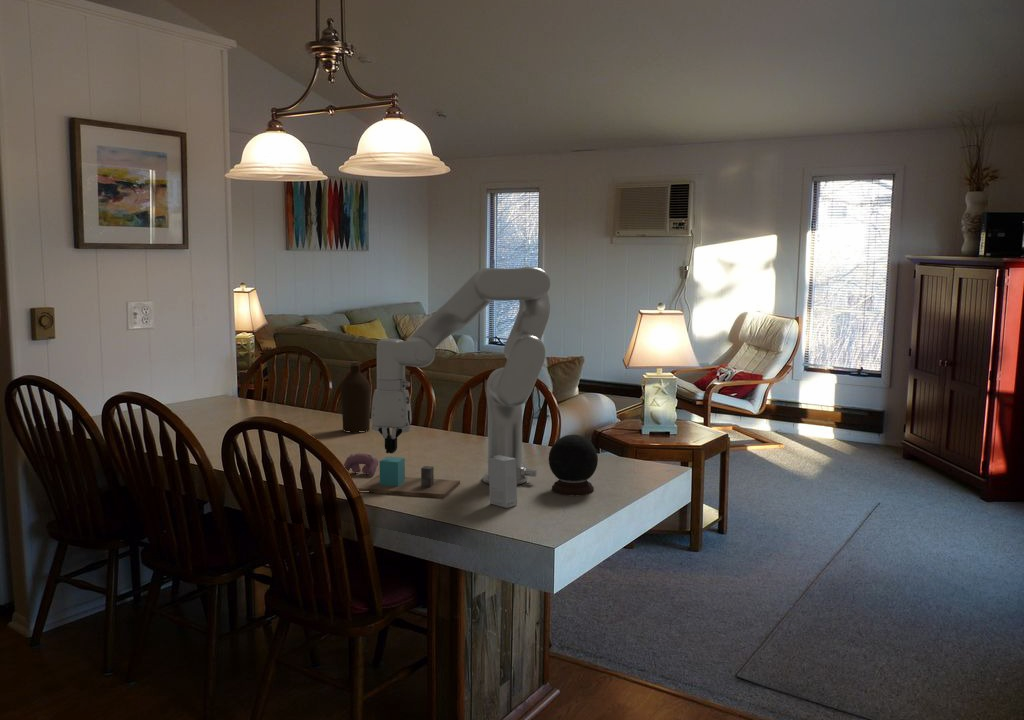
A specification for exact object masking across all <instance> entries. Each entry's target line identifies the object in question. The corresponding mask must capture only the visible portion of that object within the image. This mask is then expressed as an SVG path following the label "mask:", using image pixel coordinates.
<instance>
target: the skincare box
mask: <svg viewBox="0 0 1024 720" xmlns="http://www.w3.org/2000/svg"><path fill="white" fill-rule="evenodd" d="M488 485H489V503H490V504H491V505H494V506H498V507H500V508H501V507H502V508H505V509H508V508H512V507H515V506H518V489H517V487H518V485H517V480H516V459H515V458H510V457H506V456H501V455H497V456H494V457H490V458H489V484H488Z"/></svg>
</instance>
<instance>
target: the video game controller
mask: <svg viewBox="0 0 1024 720" xmlns="http://www.w3.org/2000/svg"><path fill="white" fill-rule="evenodd" d="M343 465H344V466H345V468H346V469H347V470H348V472H349V471H350V470H351V471H352V473H354V474H357V473H356V472H359V473H360V472H362V473H363V474H365V473H368V474H367V475H368V477H369V476H372V477H373V476H374V475H375V473H376V471H377V467H378V465H379V460H378V459H377V457H375V456H373V455H371V454H368V453H360V452H359V453H355V454H354V453H351V454H349V456H347V458H346V460H345V461H344V463H343ZM360 465H364V466H362V468H361V466H360Z"/></svg>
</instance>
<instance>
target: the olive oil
mask: <svg viewBox="0 0 1024 720" xmlns="http://www.w3.org/2000/svg"><path fill="white" fill-rule="evenodd" d="M360 363H361V362H360V361H356V360H355V361H353V360H352V361H350V365H349V367H350V372H349V374H348V375H347V376H346V377H345V378H344V379H343V381H342V382H341V385H340V401H341V413H342V414H341V415H342V431H343V430H345V431H350V432H359V431H366V430H369V431H370V427H371V426H370V424H371V422H370V421H371V420H370V419H371V418H370V417H371V396H372V395H371V392H372V388H371V384H370V382H369V380H368V379H367V378H366V377H365V376H364V375H363V374H362V372H361V365H360Z"/></svg>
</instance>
